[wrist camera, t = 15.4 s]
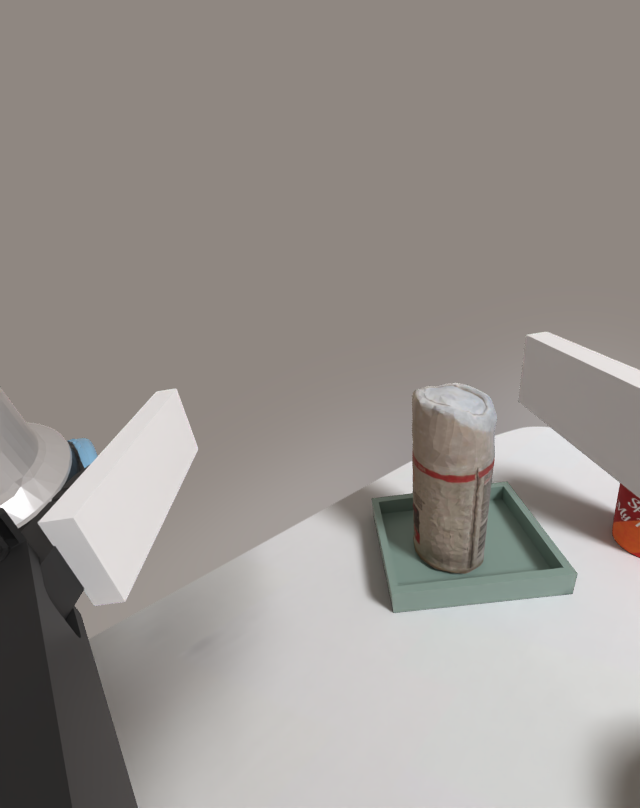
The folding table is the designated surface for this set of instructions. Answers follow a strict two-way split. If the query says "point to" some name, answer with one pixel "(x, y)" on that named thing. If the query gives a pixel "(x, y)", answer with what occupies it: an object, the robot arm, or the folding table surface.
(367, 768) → the folding table surface
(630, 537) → the paper cup
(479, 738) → the folding table surface
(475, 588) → the tray
